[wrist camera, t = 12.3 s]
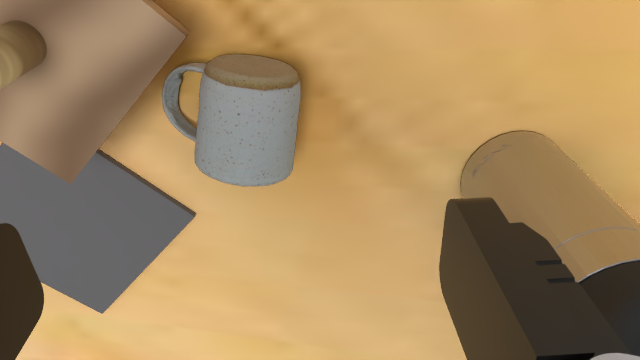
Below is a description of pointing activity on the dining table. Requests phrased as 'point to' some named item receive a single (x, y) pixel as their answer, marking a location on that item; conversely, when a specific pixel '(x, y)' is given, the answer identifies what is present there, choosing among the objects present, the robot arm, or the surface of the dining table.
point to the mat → (87, 224)
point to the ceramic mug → (240, 118)
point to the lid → (76, 73)
